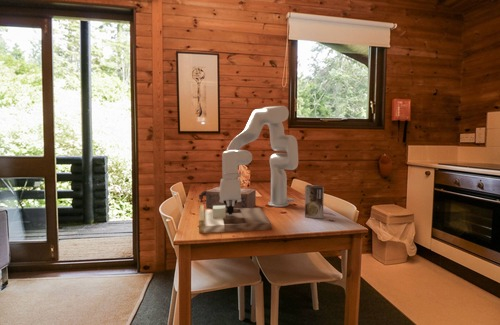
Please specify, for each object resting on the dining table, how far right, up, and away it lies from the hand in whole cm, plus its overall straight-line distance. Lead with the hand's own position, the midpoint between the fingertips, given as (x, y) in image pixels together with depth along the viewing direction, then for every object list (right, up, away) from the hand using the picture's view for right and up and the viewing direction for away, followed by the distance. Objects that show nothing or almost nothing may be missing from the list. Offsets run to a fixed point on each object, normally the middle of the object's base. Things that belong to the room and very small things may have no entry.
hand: (230, 213), depth 136 cm
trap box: (+1, -4, +1) cm, 4 cm away
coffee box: (+43, -4, +10) cm, 44 cm away
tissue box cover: (-2, -2, +31) cm, 31 cm away
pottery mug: (-18, 0, +45) cm, 48 cm away
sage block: (-5, -1, 0) cm, 5 cm away
